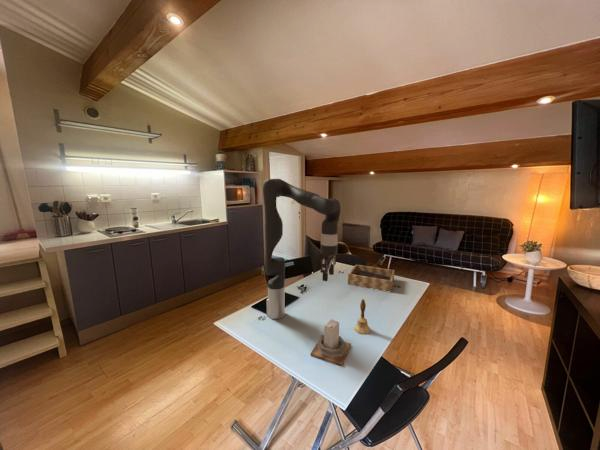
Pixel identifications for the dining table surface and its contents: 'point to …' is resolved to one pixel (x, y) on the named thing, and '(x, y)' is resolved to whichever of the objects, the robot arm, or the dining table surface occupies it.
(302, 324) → the dining table surface
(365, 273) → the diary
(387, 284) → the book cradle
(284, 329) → the dining table surface
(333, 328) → the skincare box
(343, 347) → the collar dock
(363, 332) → the hand bell
